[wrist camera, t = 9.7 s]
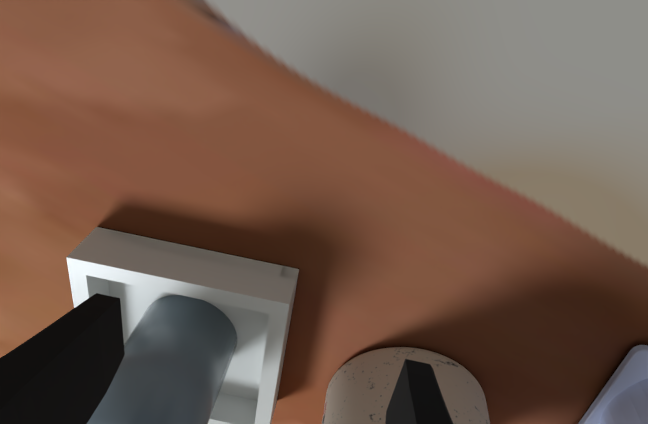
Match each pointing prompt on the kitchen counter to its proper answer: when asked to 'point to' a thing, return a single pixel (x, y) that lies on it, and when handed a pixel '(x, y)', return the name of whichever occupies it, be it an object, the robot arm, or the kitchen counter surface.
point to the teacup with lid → (380, 380)
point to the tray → (206, 284)
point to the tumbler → (171, 365)
